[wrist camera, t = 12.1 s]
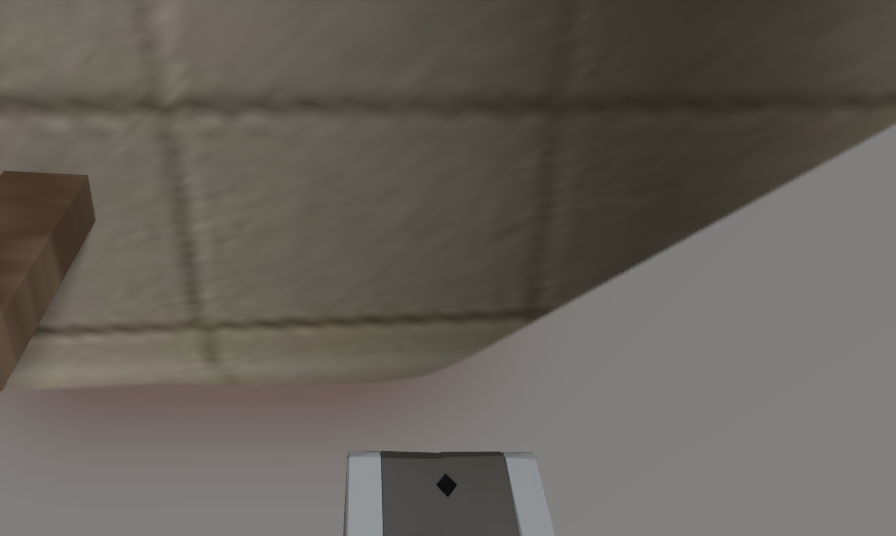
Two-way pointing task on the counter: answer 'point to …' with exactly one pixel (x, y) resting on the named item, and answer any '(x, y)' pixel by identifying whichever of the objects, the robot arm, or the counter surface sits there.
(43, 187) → the bridge
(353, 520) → the robot arm
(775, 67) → the counter surface
